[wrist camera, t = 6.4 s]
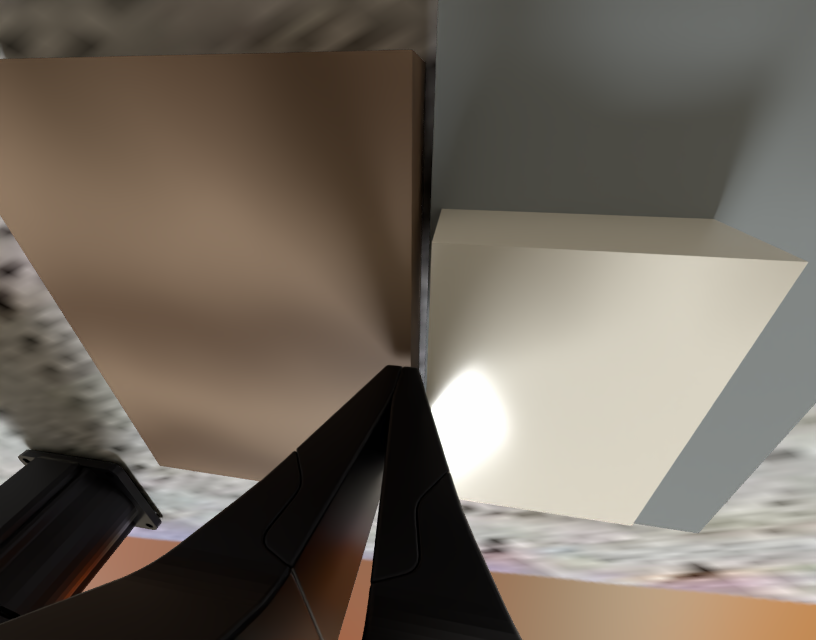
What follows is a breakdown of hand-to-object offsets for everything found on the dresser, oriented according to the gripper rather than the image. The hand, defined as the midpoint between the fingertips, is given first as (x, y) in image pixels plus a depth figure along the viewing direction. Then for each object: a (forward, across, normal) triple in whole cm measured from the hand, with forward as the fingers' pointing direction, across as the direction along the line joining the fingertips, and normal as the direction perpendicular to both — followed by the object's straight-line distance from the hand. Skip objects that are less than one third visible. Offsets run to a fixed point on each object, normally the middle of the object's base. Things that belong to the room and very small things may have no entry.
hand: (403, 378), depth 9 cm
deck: (+3, +5, 0) cm, 6 cm away
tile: (+2, -4, 0) cm, 4 cm away
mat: (+3, -6, 0) cm, 6 cm away
